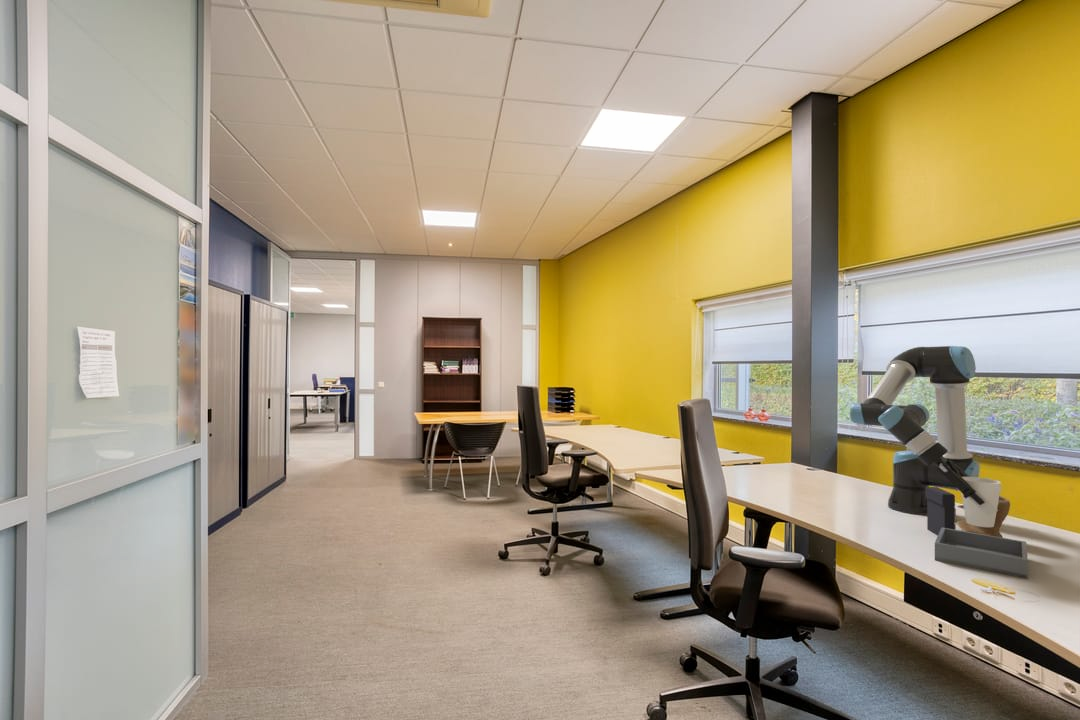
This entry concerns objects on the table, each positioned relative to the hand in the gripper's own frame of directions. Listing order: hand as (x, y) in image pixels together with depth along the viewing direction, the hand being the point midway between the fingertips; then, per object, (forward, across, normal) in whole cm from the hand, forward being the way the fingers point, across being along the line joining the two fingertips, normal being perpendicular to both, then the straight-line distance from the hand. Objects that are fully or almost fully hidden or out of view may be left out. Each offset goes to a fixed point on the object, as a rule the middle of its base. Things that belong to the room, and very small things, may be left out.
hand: (994, 509), depth 152 cm
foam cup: (+1, 0, -6) cm, 6 cm away
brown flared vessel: (+9, -28, -13) cm, 32 cm away
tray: (+9, 0, -13) cm, 16 cm away
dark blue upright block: (+1, -20, -21) cm, 29 cm away
